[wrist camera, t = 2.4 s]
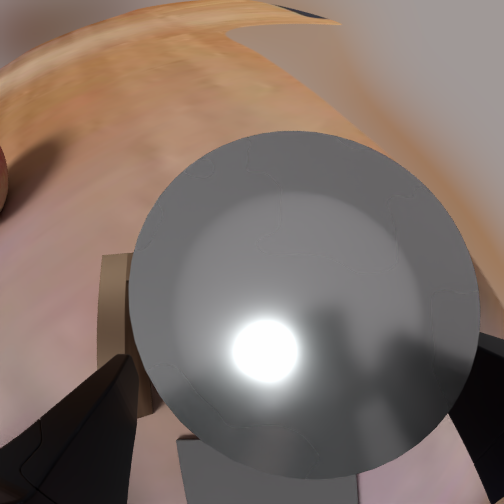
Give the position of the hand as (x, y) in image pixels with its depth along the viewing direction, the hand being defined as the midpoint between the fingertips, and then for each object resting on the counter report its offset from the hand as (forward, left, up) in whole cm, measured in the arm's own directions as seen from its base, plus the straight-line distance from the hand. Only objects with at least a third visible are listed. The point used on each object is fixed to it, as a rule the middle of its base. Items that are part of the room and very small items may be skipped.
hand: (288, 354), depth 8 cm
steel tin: (+1, 0, -8) cm, 9 cm away
